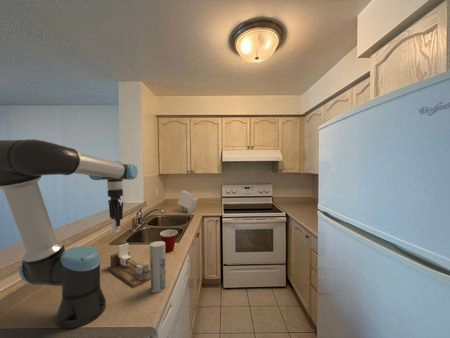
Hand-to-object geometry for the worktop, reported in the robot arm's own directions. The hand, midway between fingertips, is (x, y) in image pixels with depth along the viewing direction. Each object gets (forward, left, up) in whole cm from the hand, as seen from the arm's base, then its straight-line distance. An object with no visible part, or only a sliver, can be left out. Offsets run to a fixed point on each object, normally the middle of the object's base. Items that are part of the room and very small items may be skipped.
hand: (116, 231), depth 116 cm
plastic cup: (+29, -8, -19) cm, 35 cm away
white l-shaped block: (0, -10, -15) cm, 18 cm away
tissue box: (+113, +68, -19) cm, 133 cm away
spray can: (0, -39, -19) cm, 43 cm away
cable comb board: (0, -16, -19) cm, 24 cm away
